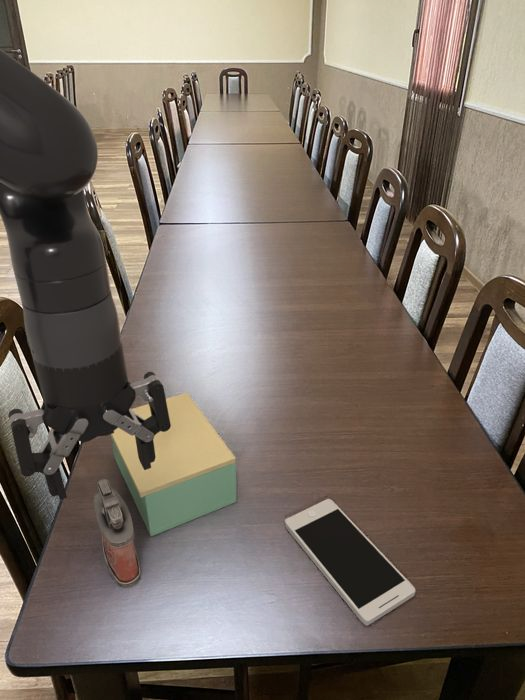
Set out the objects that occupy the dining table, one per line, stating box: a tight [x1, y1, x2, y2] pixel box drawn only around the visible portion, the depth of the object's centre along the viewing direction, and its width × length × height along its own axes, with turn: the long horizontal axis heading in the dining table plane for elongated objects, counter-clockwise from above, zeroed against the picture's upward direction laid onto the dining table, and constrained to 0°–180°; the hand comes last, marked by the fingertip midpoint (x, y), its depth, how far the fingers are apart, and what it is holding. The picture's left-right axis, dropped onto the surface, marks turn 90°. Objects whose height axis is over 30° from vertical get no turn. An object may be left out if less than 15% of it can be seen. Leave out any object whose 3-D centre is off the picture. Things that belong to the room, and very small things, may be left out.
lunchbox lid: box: [109, 392, 237, 497], centre depth 69 cm, size 12×16×1 cm
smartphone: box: [284, 498, 416, 627], centre depth 62 cm, size 7×15×1 cm, turn 31°
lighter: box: [93, 479, 142, 589], centre depth 59 cm, size 8×3×10 cm, turn 29°
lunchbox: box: [110, 436, 237, 537], centre depth 71 cm, size 12×16×7 cm
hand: (105, 478), depth 55 cm, fingers open, 8 cm apart
